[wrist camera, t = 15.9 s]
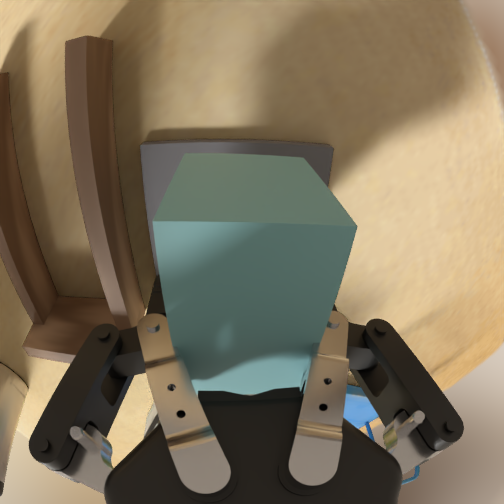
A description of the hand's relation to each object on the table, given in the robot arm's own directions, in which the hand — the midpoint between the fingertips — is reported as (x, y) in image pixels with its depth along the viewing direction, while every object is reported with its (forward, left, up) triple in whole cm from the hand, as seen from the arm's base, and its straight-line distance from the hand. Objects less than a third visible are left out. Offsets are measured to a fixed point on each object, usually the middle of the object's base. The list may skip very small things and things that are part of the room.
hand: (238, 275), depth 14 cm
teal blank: (0, +2, -1) cm, 2 cm away
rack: (-12, +2, -6) cm, 13 cm away
